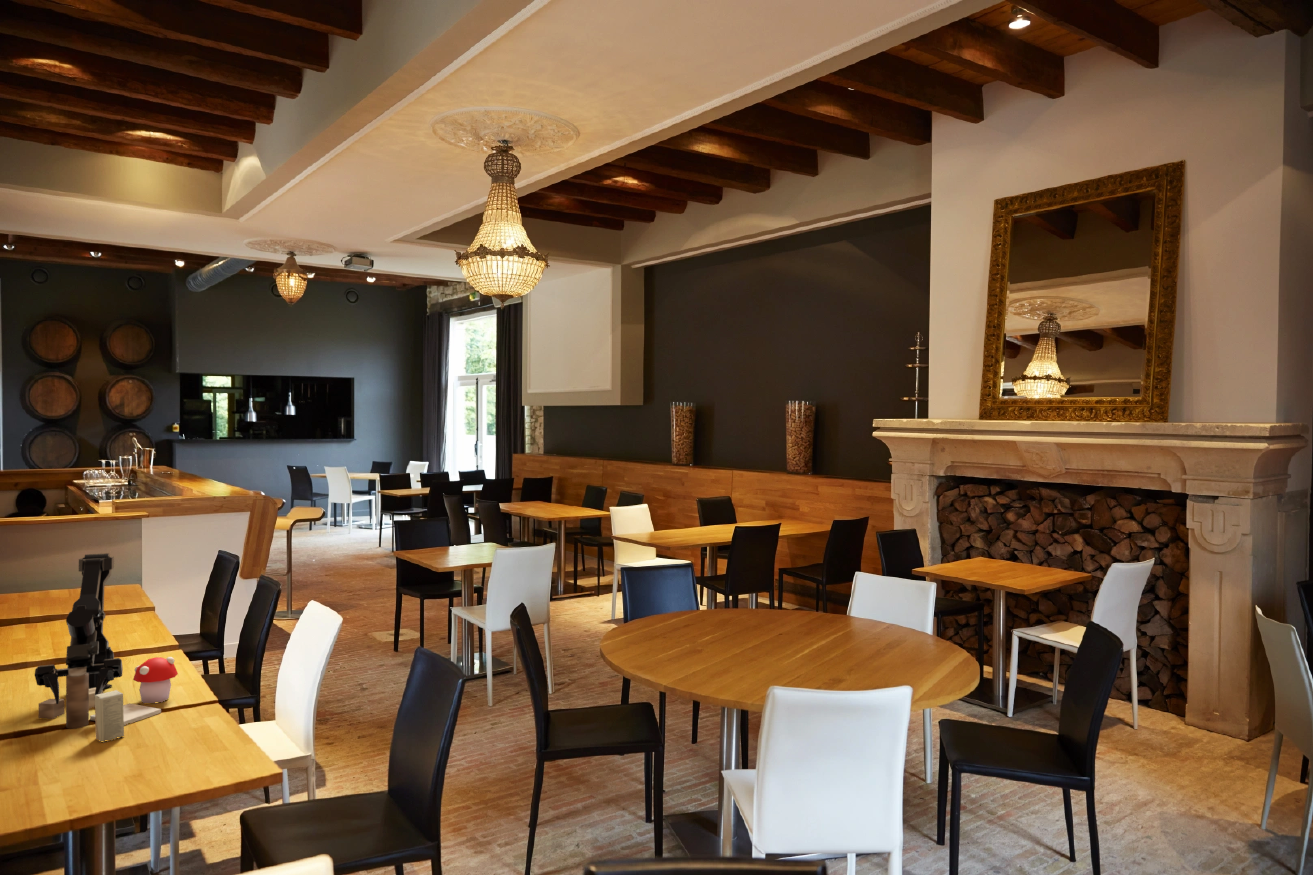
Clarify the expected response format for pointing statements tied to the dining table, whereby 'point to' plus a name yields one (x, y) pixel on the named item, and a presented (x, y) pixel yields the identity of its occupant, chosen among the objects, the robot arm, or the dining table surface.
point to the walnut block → (51, 708)
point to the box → (109, 715)
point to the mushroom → (155, 679)
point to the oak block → (92, 697)
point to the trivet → (135, 713)
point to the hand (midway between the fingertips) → (76, 700)
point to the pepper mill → (77, 698)
